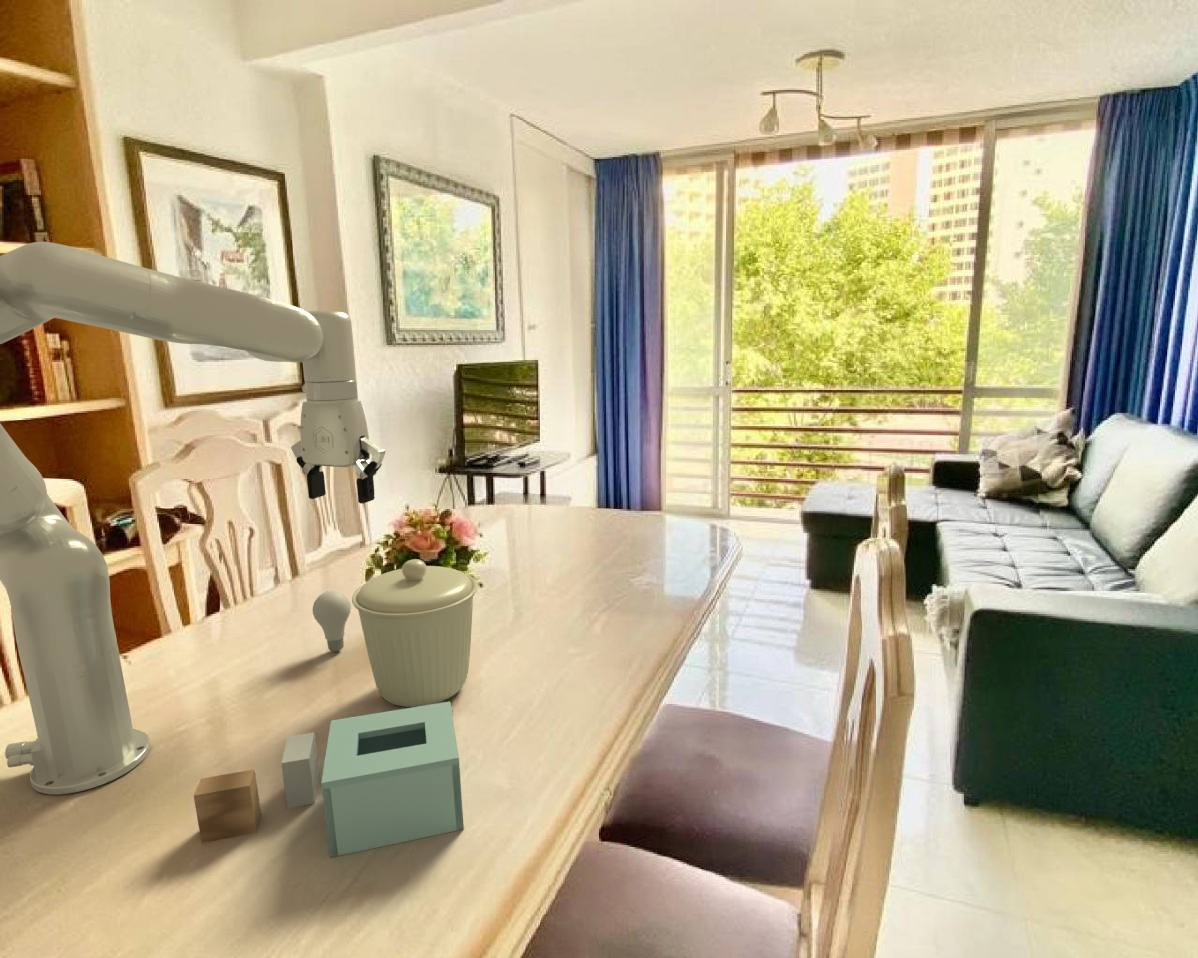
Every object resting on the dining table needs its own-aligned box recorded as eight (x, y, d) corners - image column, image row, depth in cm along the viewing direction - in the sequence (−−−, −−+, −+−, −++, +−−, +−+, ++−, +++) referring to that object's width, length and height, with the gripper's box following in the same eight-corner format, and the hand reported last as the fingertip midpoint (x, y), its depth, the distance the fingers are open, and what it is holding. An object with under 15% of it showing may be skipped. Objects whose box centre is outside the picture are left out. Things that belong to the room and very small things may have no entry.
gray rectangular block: (314, 803, 81) (309, 758, 80) (287, 808, 81) (281, 763, 79) (319, 774, 87) (314, 732, 85) (293, 779, 86) (287, 736, 84)
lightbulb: (342, 660, 116) (336, 599, 114) (310, 658, 117) (303, 597, 115) (361, 644, 122) (356, 586, 119) (330, 642, 123) (324, 584, 121)
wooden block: (201, 843, 75) (193, 795, 74) (208, 824, 78) (200, 778, 77) (256, 832, 77) (249, 785, 76) (261, 814, 80) (254, 769, 78)
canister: (359, 732, 96) (344, 589, 91) (364, 671, 112) (352, 548, 108) (490, 710, 100) (482, 573, 96) (476, 655, 117) (468, 536, 113)
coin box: (330, 857, 73) (321, 782, 71) (338, 786, 84) (330, 720, 82) (463, 828, 77) (458, 757, 75) (454, 764, 88) (450, 701, 86)
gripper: (269, 393, 106) (281, 500, 110) (361, 396, 101) (371, 509, 104) (305, 389, 113) (315, 490, 117) (393, 391, 108) (401, 497, 111)
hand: (341, 499), depth 111 cm, fingers open, 9 cm apart
